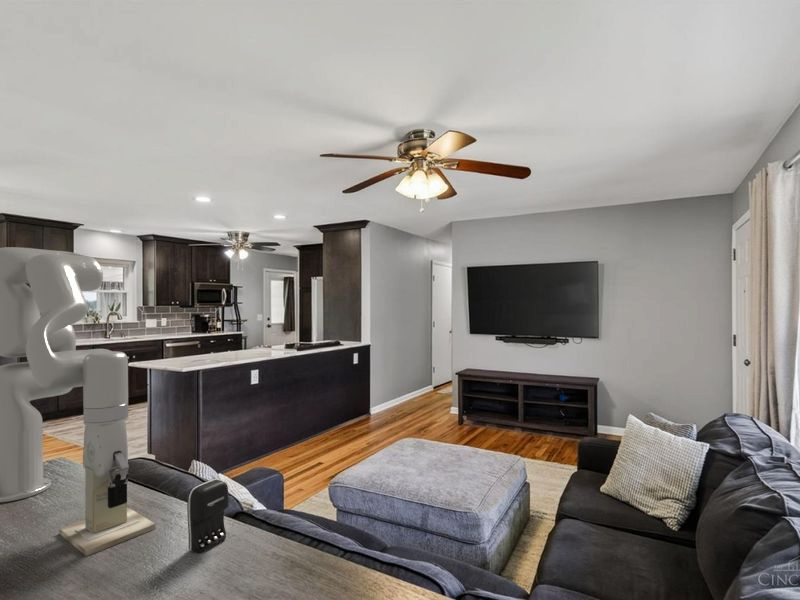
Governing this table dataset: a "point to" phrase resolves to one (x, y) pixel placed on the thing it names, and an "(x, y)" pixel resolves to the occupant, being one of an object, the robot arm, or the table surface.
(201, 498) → the battery charger
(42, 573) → the table surface
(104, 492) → the skincare box
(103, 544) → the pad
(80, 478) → the table surface
